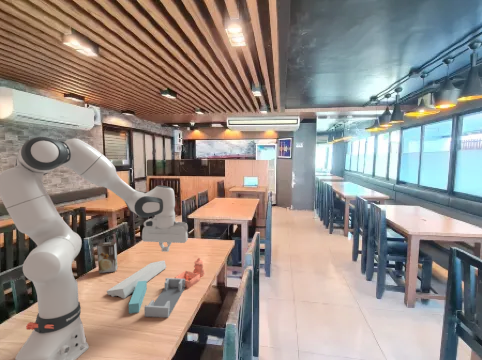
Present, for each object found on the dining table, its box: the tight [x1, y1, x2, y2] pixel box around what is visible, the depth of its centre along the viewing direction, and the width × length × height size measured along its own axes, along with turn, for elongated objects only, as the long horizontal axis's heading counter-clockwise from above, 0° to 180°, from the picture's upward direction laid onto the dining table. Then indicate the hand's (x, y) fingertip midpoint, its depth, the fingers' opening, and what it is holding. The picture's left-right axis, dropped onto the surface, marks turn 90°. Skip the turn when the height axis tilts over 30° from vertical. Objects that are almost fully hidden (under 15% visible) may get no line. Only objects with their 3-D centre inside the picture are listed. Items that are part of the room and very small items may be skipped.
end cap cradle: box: [143, 277, 186, 319], centre depth 115 cm, size 25×10×5 cm, turn 177°
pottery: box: [174, 257, 205, 289], centre depth 136 cm, size 18×10×10 cm, turn 153°
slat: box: [128, 281, 148, 314], centre depth 115 cm, size 20×4×5 cm, turn 12°
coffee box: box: [96, 241, 119, 274], centre depth 146 cm, size 9×6×16 cm
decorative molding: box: [106, 260, 167, 299], centre depth 134 cm, size 34×5×10 cm
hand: (165, 251), depth 113 cm, fingers closed
